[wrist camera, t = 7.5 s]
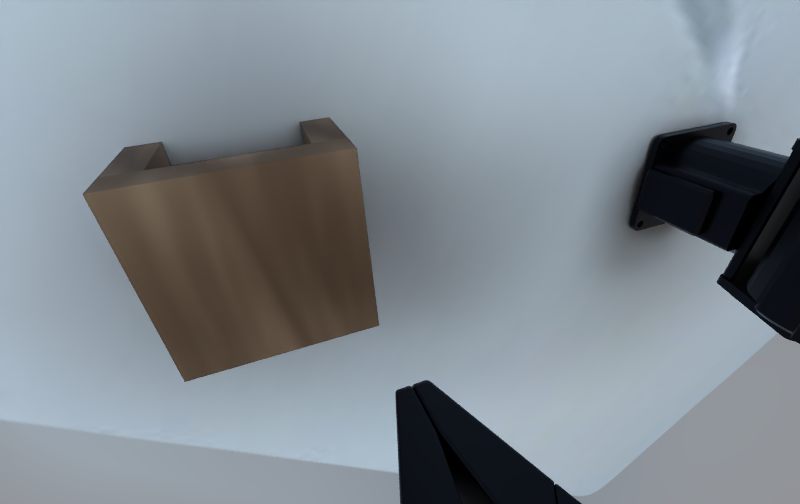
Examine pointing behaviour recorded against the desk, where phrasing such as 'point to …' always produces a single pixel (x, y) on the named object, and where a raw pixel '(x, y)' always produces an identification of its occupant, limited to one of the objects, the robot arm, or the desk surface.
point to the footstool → (242, 247)
